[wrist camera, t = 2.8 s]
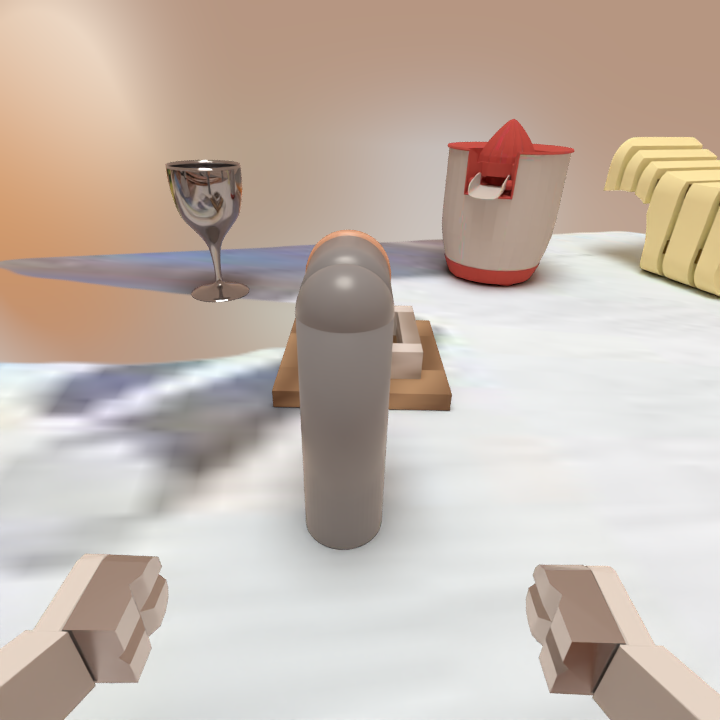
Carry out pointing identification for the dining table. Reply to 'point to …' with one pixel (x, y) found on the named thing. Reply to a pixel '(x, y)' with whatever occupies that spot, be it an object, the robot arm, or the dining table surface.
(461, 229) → the citrus juicer
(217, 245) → the wine glass
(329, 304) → the pipe elbow
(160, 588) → the robot arm
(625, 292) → the dining table surface
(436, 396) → the collar plate
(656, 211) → the slatted curved stool
